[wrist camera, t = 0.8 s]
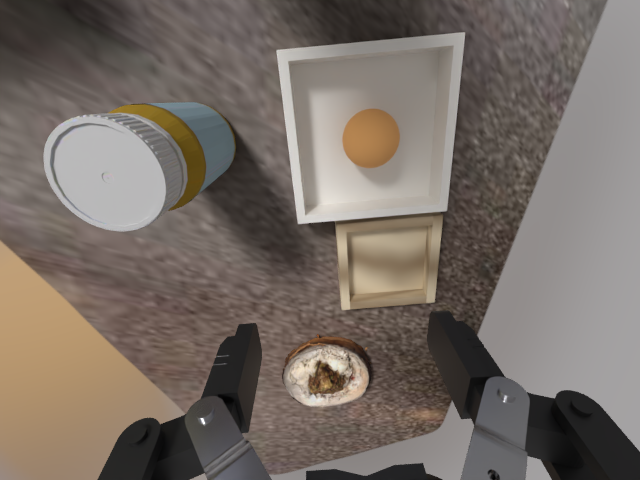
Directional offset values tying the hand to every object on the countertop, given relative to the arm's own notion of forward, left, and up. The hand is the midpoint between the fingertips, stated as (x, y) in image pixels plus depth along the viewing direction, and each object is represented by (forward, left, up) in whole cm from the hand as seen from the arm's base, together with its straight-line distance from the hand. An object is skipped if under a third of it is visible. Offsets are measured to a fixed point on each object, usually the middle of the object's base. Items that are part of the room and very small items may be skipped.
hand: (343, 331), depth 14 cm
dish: (-6, +4, -20) cm, 21 cm away
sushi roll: (+25, -2, -21) cm, 33 cm away
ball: (-6, +4, -20) cm, 21 cm away
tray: (+8, +6, -20) cm, 22 cm away
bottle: (-7, -12, -20) cm, 24 cm away
